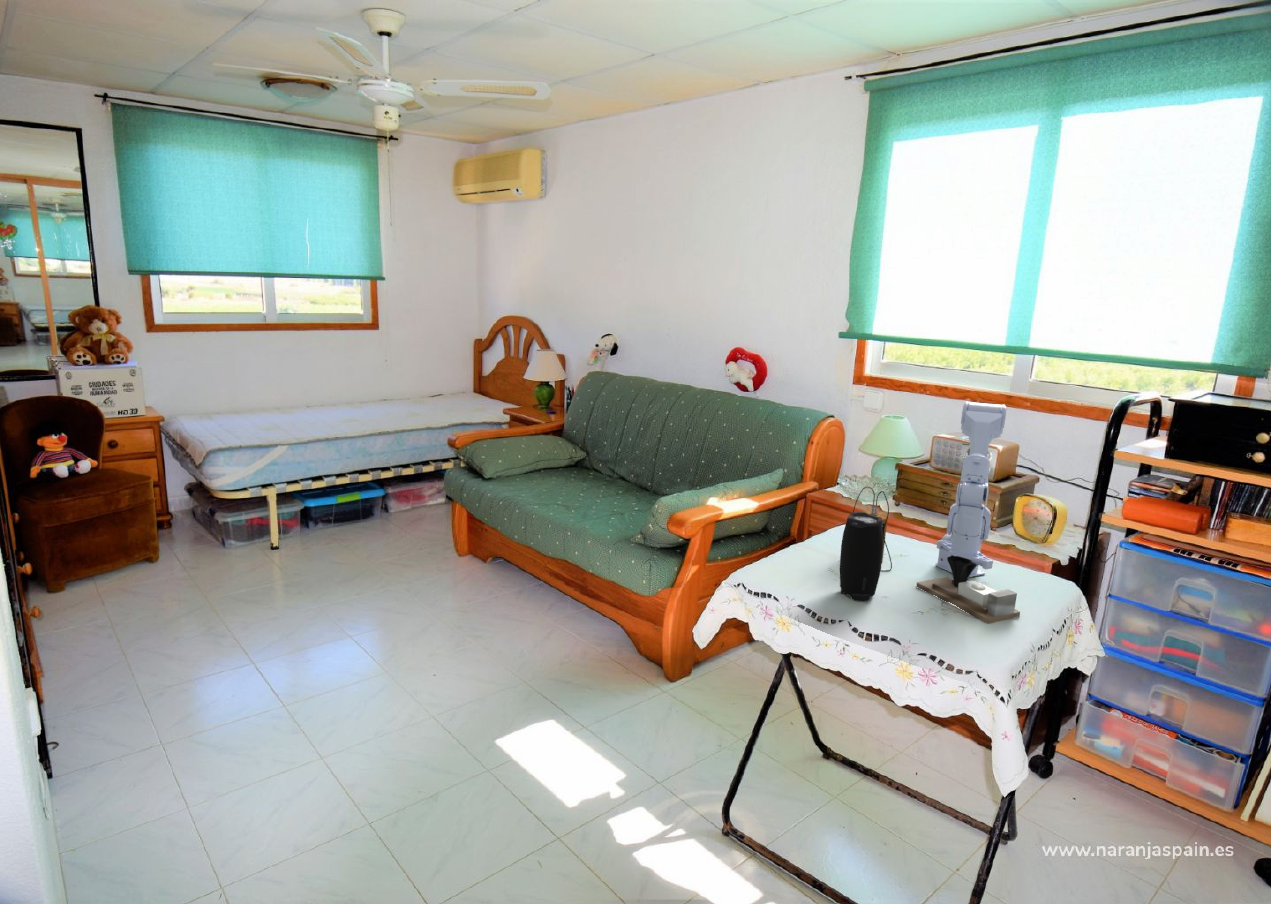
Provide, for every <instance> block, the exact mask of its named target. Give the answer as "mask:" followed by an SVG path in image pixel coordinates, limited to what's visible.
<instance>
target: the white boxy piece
mask: <svg viewBox="0 0 1271 904" xmlns="http://www.w3.org/2000/svg"><path fill="white" fill-rule="evenodd" d="M996 591H997V590H995V589H993V588H991V587H988V586H987V585H984V584H983V583H980V582H978V581H976V580H967V581H965V582H960V583H958V589H957V593H958V594H959V595H961V596H963V597H965V598H967V599H969V600H971V601H973V602H975V603H977V604H979V605H981V606H983V607H987V600H988V594H989V593H991V592H996Z"/></svg>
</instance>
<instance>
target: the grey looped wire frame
mask: <svg viewBox="0 0 1271 904" xmlns="http://www.w3.org/2000/svg"><path fill="white" fill-rule="evenodd" d="M866 488H867V489H870V490H872V493H873V499H872V500H873V501H872V508H871V510H867V511H866V510H865V511H863V512H865V513H867V514H870V515H873V516H876V517H882V522H883V524H882V530H883V552H882V562H883V560H884V551H885V547H886V550H887V554H888V557H889V561H890V569H887V570H882V569H881V572H890V571H892V568H893V562H892V558H891V554H890V551H889V548H888V546H887V545H888V544H887V543H886V542H887V541H886V533H887V527H888V526H887V525H888V519H889V514H890V507H889V501H888V498H887V495H886V494H885V492H884V491H883V490H881V491H880V492H879V493H878V494H877V496H876V494H875V491H874V489H873V488H872V487H870V486H864V487H863V488H862V489H861V491H860V492H859V494H858V495H857V498H856V501H855V503H854V506H853V509H852V512H855V509H856V506H857V502H858V500H859V497H860V496H861V494H862V492H863V491H864V490H865V489H866ZM881 493H883V496H884V498H885V500H886V504H887V514H886V515H887V516H883V515H880V514H878V498H879V496H880V494H881ZM875 496H876V497H875ZM875 498H876V500H875ZM838 562H839V563H840V560H838Z"/></svg>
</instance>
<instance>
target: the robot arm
mask: <svg viewBox="0 0 1271 904" xmlns="http://www.w3.org/2000/svg"><path fill="white" fill-rule="evenodd" d="M1007 409H1008V408H1007V406H1006V404H993V403H983V402H982V403H981V402H973V401H972V402H971V401H970V402H969V401H968V400H967V401H965V402H963V406H962V412H961V421H960V424H961V426H960V430H961V433H962V434H963V435H965V436H967V437H968V439H969V443H970V447H969V454H968V456H966V457H965V458H964V459H963V462H962V463H963V464H962V468H961V469H962V470H961V476H960V482H959V483H958V484H957V489H956V495H955V503H953V504H952V505H951V506H950V508H949V513H948V517H947V525H946V534H945V535H943V537H942V538H941V539H940V540H937V543H936V549H937V550H938V558H937V562H936V563H935V566H936V567H938V568H940V569H943V570H944V571H947V572H949V573H950V574H952V579H953V580H954V586H955V587H957V588H958V583H960V582H965V581H969V580H968V579H969V578H972V577H977V576H982V575H983V576H984V575H986V572H985V571H983V569H984V570H991V569H993V563H994V560H992V559H990V558H988V557H987V556H986V555H984V554H983V553H981V549H982V544H983V541H987V540H988V539H989V535H990V526H991V520H992V519H991V515H992V513H991V510H990V509H989V508H988V507H987V504H988V497H989V473H990V466H991V462H990V460H989V459H988V454H989V453H988V451H989V447H990V445H991V442H992V441H993V440H995V439H998V438H1000V437H1002V434H1003V431H1004V428H1005V424H1006V416H1007ZM983 502H984V503H983ZM979 567H982V570H981V569H979Z"/></svg>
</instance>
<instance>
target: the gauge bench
mask: <svg viewBox="0 0 1271 904" xmlns="http://www.w3.org/2000/svg"><path fill="white" fill-rule="evenodd" d="M915 587H916V588H917V587H918V588H917V589H919V588H920V589H919V590H921V589H922V590H921V591H923V590H924V592H925V591H926V592H925V593H927V594H929V595H931V596H933V595H935V596H937V597H938V598H937V597H936V598H937V599H939V598H940V599H939V600H941V599H942V600H944V601H946V602H950V603H952V604H954V605H956V606H957V607H959V608H960V609H962V610H964V611H965V612H964V611H963V612H964V613H966V612H967V613H969V614H970V615H969V614H968V615H969V616H971V617H973V618H975V619H977V620H979V621H981V622H982V623H985V624H992V623H997V622H1001V621H1005V620H1006V621H1007V620H1010V619H1014V617H1016V618H1019V617H1020V615H1021V611H1019V610H1017V609H1015V608H1016V603H1017V597H1018V593H1017V592H1015V591H1013V590H1011V589H1009V588H1007V589H1002V590H995V591H996V592H991V593H989V594H988V600H987V607H983V606H981V605H979V604H977V603H975V602H973V601H971V600H969V599H967V598H965V597H963V596H961V595H959V594H958V593H957V589H958V588H957V587H955V586H954V580H953V578H951V577H948V576H944V577H943V576H942V577H939V578H933V579H928V580H923V581H917V582H916V586H915ZM935 596H934V597H935ZM942 600H941V601H942ZM944 601H943V602H944ZM946 602H945V603H946ZM960 609H959V610H960ZM962 610H961V611H962ZM967 613H966V614H967Z"/></svg>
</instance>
